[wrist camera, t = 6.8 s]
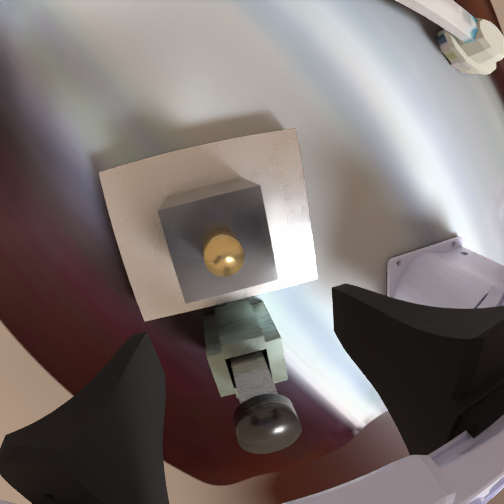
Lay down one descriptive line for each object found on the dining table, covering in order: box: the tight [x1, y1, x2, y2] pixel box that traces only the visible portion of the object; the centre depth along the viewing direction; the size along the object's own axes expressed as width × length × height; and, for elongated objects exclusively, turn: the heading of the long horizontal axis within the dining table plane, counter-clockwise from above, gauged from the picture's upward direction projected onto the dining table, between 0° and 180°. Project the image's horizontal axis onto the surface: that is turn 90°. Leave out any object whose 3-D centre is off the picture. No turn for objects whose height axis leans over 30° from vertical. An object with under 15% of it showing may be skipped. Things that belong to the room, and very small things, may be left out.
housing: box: [158, 178, 279, 304], centre depth 15 cm, size 4×4×6 cm
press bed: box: [99, 128, 317, 398], centre depth 19 cm, size 12×16×5 cm
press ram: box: [230, 350, 302, 454], centre depth 17 cm, size 3×3×8 cm
